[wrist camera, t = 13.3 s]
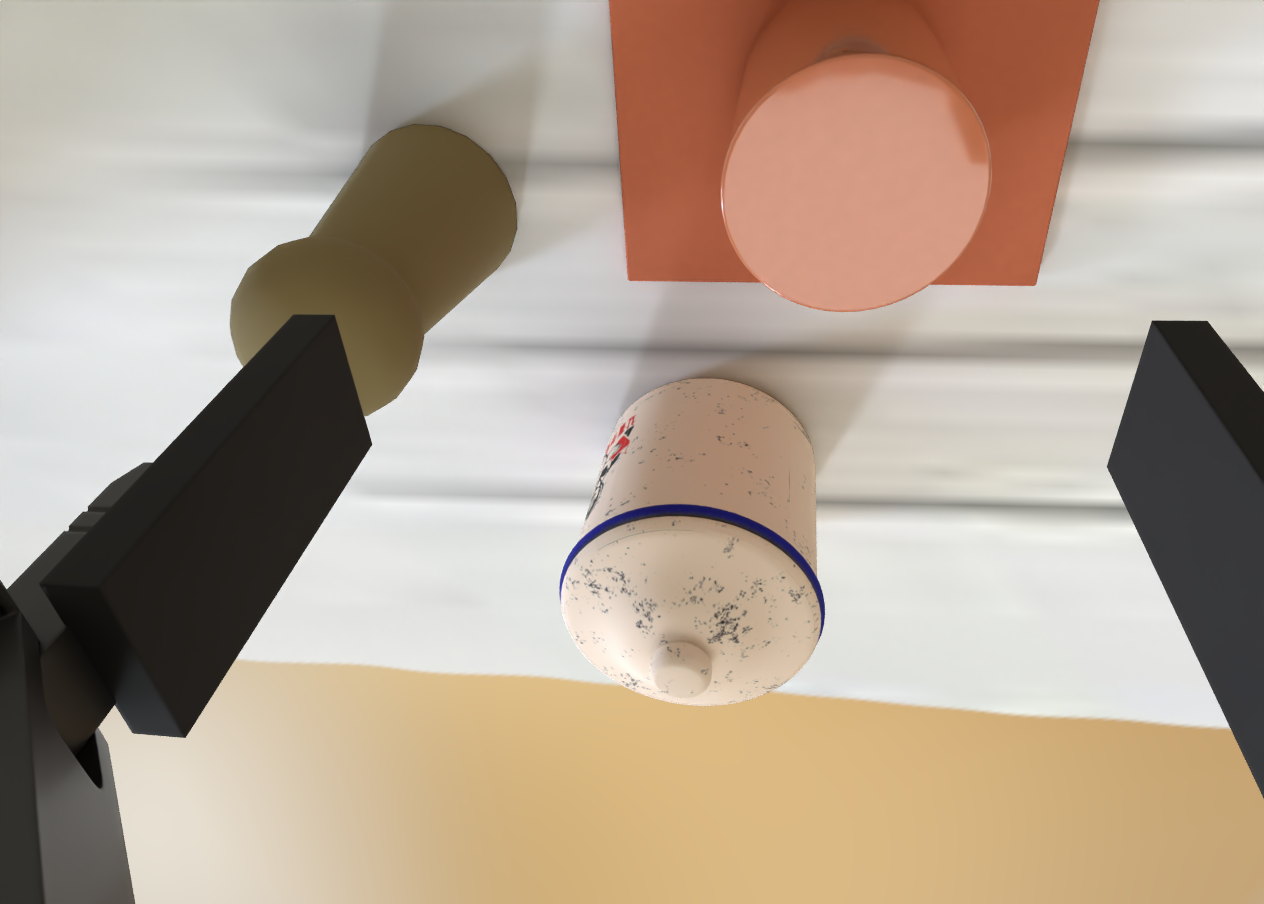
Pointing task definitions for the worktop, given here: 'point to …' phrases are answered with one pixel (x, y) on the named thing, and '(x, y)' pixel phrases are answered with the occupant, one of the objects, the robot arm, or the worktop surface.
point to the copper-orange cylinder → (852, 156)
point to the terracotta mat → (707, 99)
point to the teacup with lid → (699, 548)
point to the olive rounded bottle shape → (387, 256)
